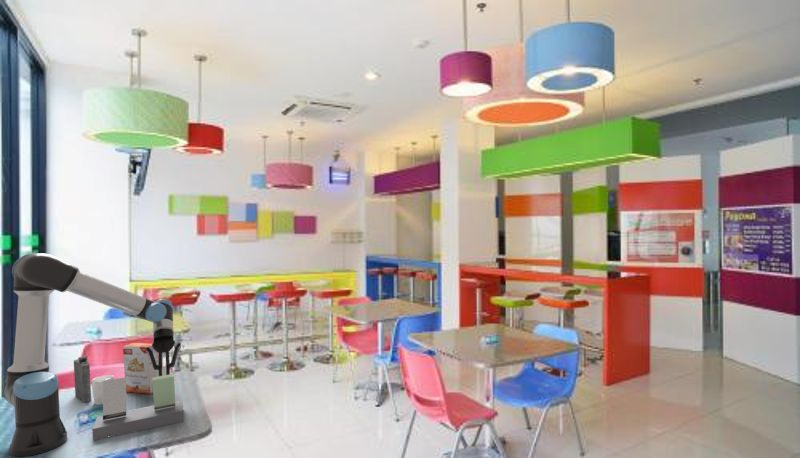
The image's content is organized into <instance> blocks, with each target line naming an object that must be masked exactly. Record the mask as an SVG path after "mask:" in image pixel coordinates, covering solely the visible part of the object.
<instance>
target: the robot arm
mask: <svg viewBox="0 0 800 458" xmlns="http://www.w3.org/2000/svg"><path fill="white" fill-rule="evenodd" d="M11 269H12V270H11V274H12V275H11V276H12V277H13V278H14V279H13V280H14V281H13V292H14V293H15V294H16V295H17V296H18V300H17V311H16V313H17V314H16V325H15V338H14V350H13V351H14V353H13V363H12V365H11V366H9V367H8V368H7V370H6V371H7V372H6V380H5V381H4V383H3V386H2V395H3V397H4V399H5V400H6V401H7V402H8V403H9V404H10V405H12V407H14V420H15V421H14V424H15V429H14V433H13V435H12V438H11V442H10V445H9V455H10V456H11V457H15V456H24V457H29V455H31V456H34V455H39V454H42V453H45V452H48V451H51V450H53V449H55V448H58V447H59V446H61V445H63V444H64V443H65V442H66V441H67V440H68V431H67V429H66V427H65V425H64V423H63V421H62V419H61V417H60V416H61V415H60V413H61V412H60V397H59V396H60V393H59V391H60V390H59V385H60V383H59V380H58V379H59V378H58V376H57V374H56V373H54V372H51V371H50V365H49V363H47V362H46V361H45V357H46V355H45V354H46V342H47V329H48V316H49V315H48V313H49V304H50V303H49V302H50V300H49V299H50V295H51V294H52V293H53V292H54V291H57V292H60V293H65V292H69V293H72V294H75V295H77V296H80V297H82V298H86V299H88V300H91V301H93V302H96V303H99V304H102V305H105V306H107V307H110V308H113V309H116V310H118V311H121V313H122V314H123V316H125V317H126V316H127V317H129V318H136V319H138V320H139V319H140V320H142V321H143V320H144V321H148V322H151V323H153V325H152V326H153V328H152V332H153V335H152V336H153V339H152V340H153V342H152V343H151V344H152V346H151V347H147V348H146V352H147V353H148V354H149V356H150V359H151V362H152V365H153V368H154V370H159V376H164V375H170V374H171V372H170V370H171V368H175V365H176V362H177V358H178V355H179V354H178V353H179V351H180V350H181V348H182V343H181V342H178V343H177V342H176V341H175V339H174V338H175V336H174V308H173V303H172V302H171V300H169V299H168V298H167V299H166V298H164V299H162V298H161V299H157V300H155V301H154V300H151V299H149V298H146V297H144V296H141V295H138V294H136V293H134V292H131V291H128V290H126V289H124V288H122V287H118V286H116V285H114V284H112V283H109V282H106V281H104V280H101V279H99V278H96V277H94V276H91V275H89V274H87V273H84V272H82V271H80V269H79V267H78V266H75V265H73V264H71V263H69V262H66V261H64V260H62V259H60V258H59V257H57V256H55V255H52V254H50V253H39V252H31V253H27V254H24V255H22V256H20V257H19V258H18V259H16V261H15V262H14V263H13V265H12V267H11ZM173 348H174V350H173V354H172V358H171V361H170V351H171V350H172V349H173ZM153 349H154V350H155V351H157V352H158V362H159V365H157V364H156V361H155V358H154V355H153ZM164 353H165V366H163V354H164Z"/></svg>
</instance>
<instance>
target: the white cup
mask: <svg viewBox="0 0 800 458" xmlns="http://www.w3.org/2000/svg"><path fill="white" fill-rule="evenodd" d="M113 379H115V375H114V374H105V375H100V376H97V377H94V378H92V379H91V390H92V395H93V401H94V405H96V406H97V405H99V406H101V405H103V381H107V380H113Z"/></svg>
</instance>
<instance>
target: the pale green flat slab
mask: <svg viewBox="0 0 800 458" xmlns="http://www.w3.org/2000/svg"><path fill="white" fill-rule="evenodd" d="M152 383H153V393H152V396H153V405H154V410H157V409H162V408H167V407H172V406H175V401H176V392H175V391H176V390H175V387H176V386H175V374H174V373H172V374H171V373H170V375H164V376H159V377H153V378H152Z"/></svg>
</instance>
